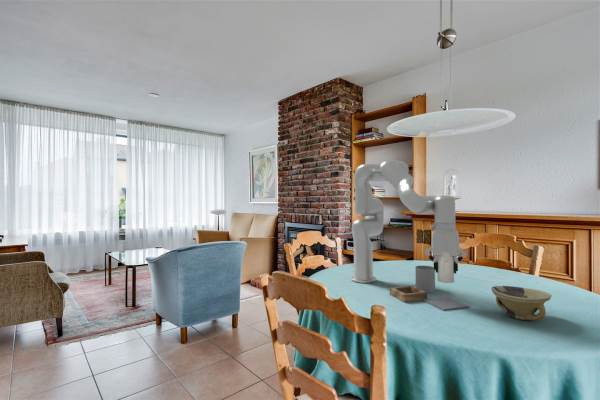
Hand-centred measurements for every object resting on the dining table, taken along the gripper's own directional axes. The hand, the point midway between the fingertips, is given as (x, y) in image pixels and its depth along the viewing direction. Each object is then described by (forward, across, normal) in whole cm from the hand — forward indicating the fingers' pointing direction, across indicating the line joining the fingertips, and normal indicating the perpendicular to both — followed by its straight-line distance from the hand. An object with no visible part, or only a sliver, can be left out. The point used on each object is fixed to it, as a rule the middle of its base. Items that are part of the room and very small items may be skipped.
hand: (445, 271), depth 127 cm
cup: (+13, -7, +20) cm, 25 cm away
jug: (+4, 0, -1) cm, 4 cm away
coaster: (+13, 0, 0) cm, 13 cm away
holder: (+13, -14, +5) cm, 20 cm away
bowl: (+13, +23, -6) cm, 28 cm away
